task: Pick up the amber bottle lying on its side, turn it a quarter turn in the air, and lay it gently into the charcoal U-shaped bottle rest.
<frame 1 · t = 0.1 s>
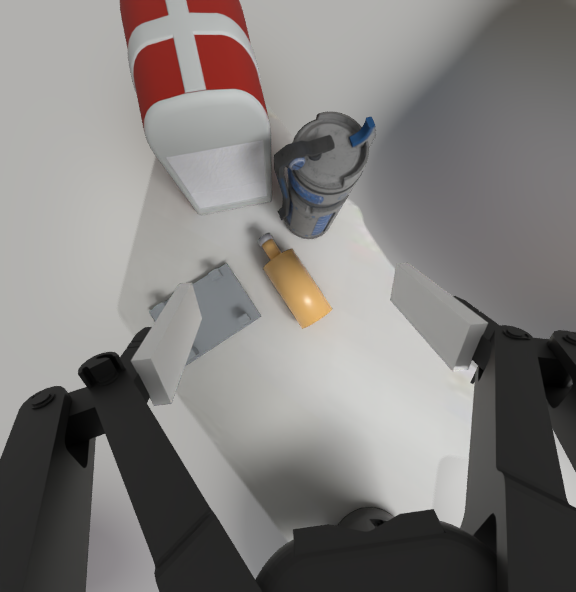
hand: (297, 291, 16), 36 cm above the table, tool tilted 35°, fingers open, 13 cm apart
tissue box: (227, 170, 54), on the table
u rest: (206, 313, 51), on the table
amber bottle: (295, 290, 52), on the table
smoke grenade: (303, 219, 54), on the table
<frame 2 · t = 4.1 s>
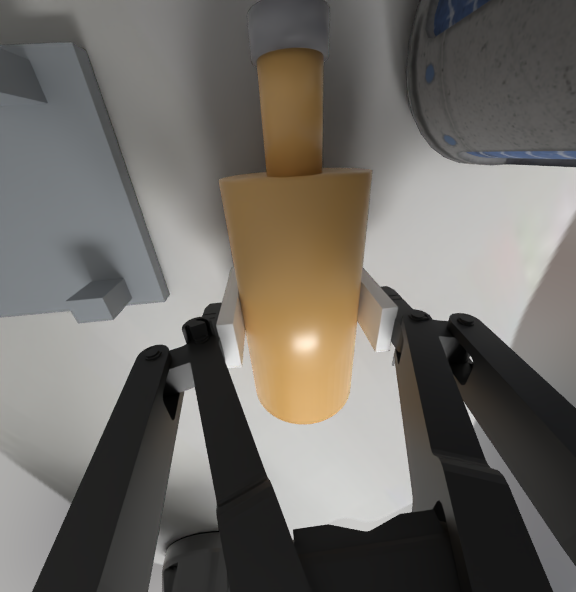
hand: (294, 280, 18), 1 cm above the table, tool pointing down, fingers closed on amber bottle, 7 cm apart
amber bottle: (290, 276, 18), on the table, touching gripper
smoke grenade: (472, 49, 13), on the table
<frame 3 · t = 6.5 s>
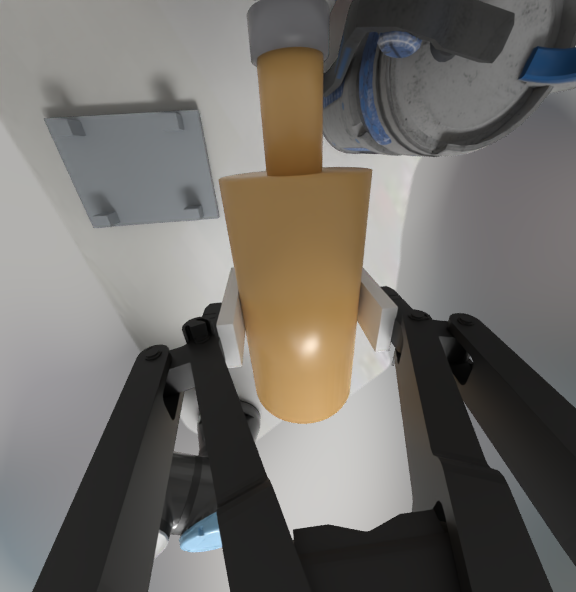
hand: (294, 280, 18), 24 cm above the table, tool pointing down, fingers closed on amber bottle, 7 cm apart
u rest: (143, 173, 34), on the table
amber bottle: (290, 276, 18), point 23 cm above the table, touching gripper
smoke grenade: (347, 107, 32), on the table
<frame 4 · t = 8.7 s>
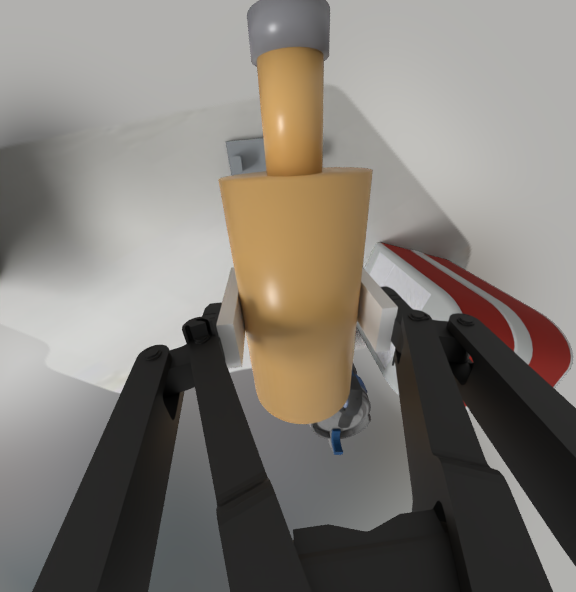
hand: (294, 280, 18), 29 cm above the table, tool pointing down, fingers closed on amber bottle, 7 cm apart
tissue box: (396, 285, 54), on the table
u rest: (275, 200, 42), on the table
amber bottle: (290, 276, 18), point 28 cm above the table, touching gripper
smoke grenade: (314, 325, 57), on the table
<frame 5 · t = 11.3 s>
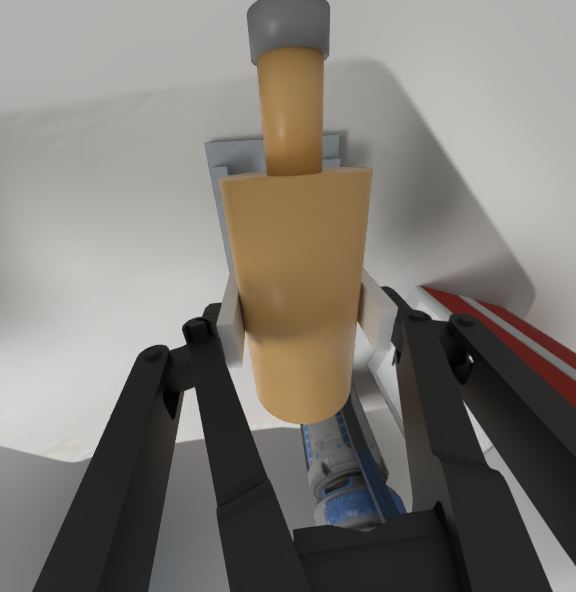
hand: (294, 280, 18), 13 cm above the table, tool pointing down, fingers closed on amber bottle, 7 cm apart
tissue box: (433, 338, 41), on the table
u rest: (279, 229, 29), on the table
amber bottle: (290, 276, 18), point 13 cm above the table, touching gripper
smoke grenade: (324, 384, 44), on the table
when the fingers open (3 cm above the table, at t = 13.7 s): amber bottle drops 2 cm, resting on u rest.
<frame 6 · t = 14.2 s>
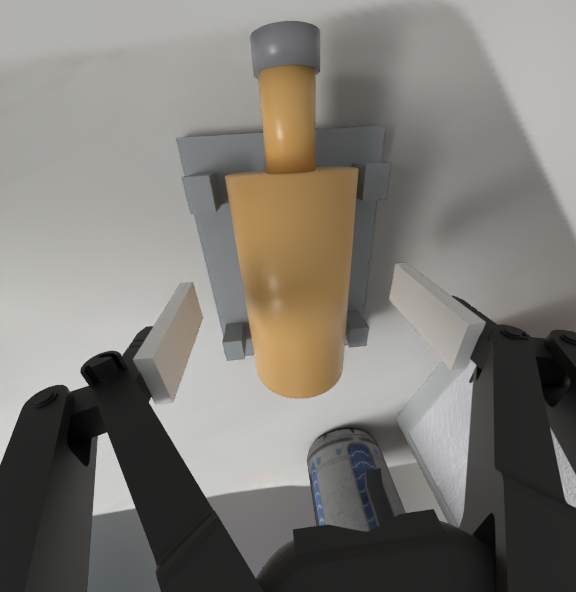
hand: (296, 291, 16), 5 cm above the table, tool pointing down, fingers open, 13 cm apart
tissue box: (481, 387, 32), on the table
u rest: (289, 261, 21), on the table
amber bottle: (287, 266, 20), point 1 cm above the table, touching u rest
smoke grenade: (341, 440, 35), on the table
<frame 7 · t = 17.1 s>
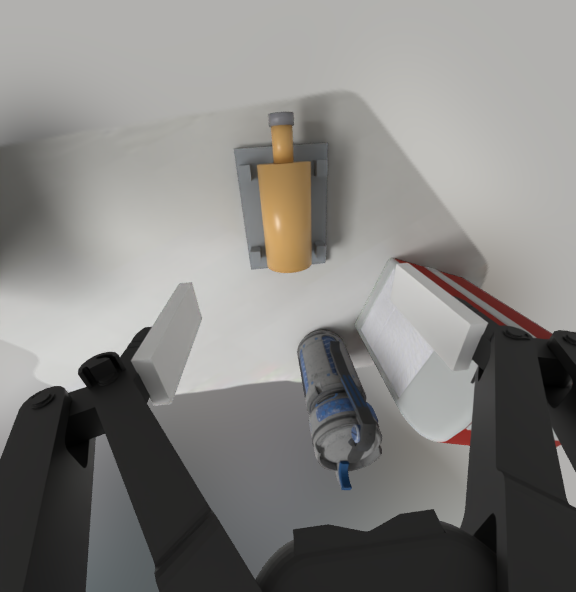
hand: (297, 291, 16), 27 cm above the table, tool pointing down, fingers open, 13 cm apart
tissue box: (407, 303, 51), on the table
u rest: (284, 211, 40), on the table
amber bottle: (283, 213, 39), point 1 cm above the table, touching u rest
smoke grenade: (320, 342, 54), on the table
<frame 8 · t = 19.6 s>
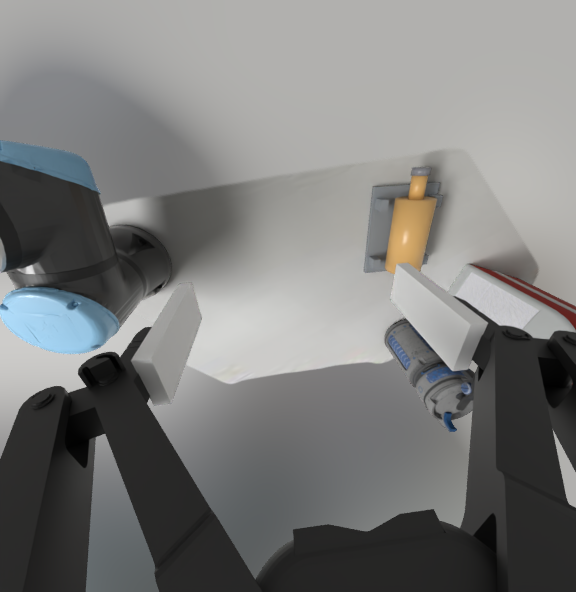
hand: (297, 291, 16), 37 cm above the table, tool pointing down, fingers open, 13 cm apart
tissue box: (473, 298, 65), on the table
u rest: (397, 230, 53), on the table
amber bottle: (398, 231, 52), point 1 cm above the table, touching u rest
smoke grenade: (401, 330, 68), on the table
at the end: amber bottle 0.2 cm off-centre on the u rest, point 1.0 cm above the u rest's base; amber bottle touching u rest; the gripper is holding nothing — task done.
